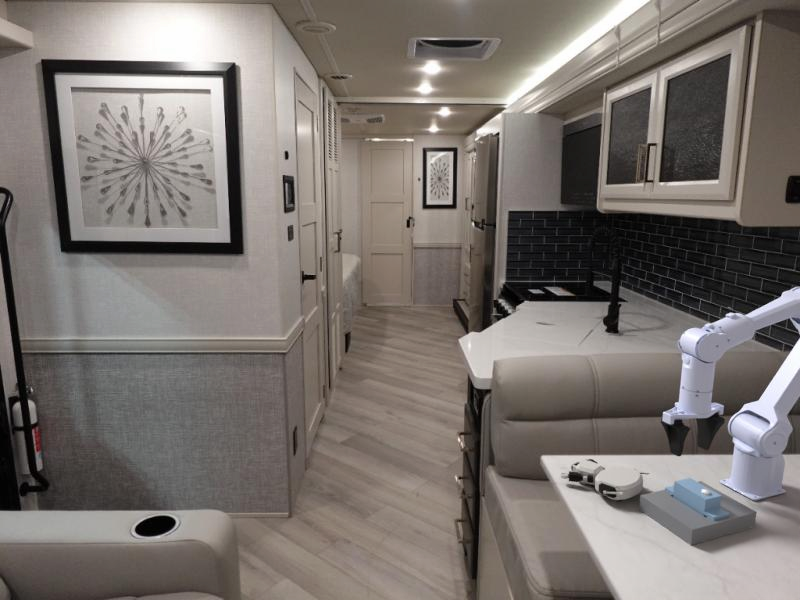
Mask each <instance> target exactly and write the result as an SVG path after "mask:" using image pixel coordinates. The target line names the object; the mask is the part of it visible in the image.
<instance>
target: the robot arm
mask: <svg viewBox="0 0 800 600" xmlns="http://www.w3.org/2000/svg"><path fill="white" fill-rule="evenodd" d="M788 319H789V320H790V321H791V322H792V324H793V326H794V327H795V329H796V330H797V331H798V333H799V335H800V286H795V287H793V288H791V289H789V290H785V291H783V292H782V293H781V296H780V297H778V298H776V299H774V300H772V301H770V302H768V303H767V304H765V305H762V306H761V307H759V308H756V309H755V310H752V311H751V312H749V313H747V314H745V315H744V314H743V313H739V312H735V313H734V312H729V313H726V314H725V317H723V318H721V319H719V320H718V319H717V321H714V322H712V323H710V322H708V323H706V324H704V326H703V327H702V328H699V327H692V328H688V329H687V330H685V331H684V332H683V333H682V334H681V336H680V339H678V340H677V347H678V350H679V351H680V353H681V360H682V364H681V374H680V375H681V376H680V386H679V396H678V401H677V402H675V403H674V407H673V408H671V409H668V410H666V411H663V412H662V416H661V417H660V418H661V419H660V423H661V424H662V427H663V429H664V431H665V434H666V437H667V442H668V445H669V451H670V452H669V453H671V454H673V455H674V456H676V457H682V456H683V455H682V454H683V451H684V445H685V442H686V438H687V436H688V434H689V432H690V431H691V430H692V428H691V427H690V426H688V425H685V423H684V422H683V421H687V420H691V419H695V421H696V428H697V429H696V430H697V435H696V442H697V443H696V444H697V447H699V448H701V449H702V450H705V451H708V450H710V449H711V448H710V447H711V446H712V444H713V443H712V442H713V440H714V438H715V436H716V434H717V433H718V431H719V430H720V429H721V427H723V426H724V424H725V422H726V419H725V418H724V417H722V416H721V415H724V408H725V406H724V405H723V404H721V403H718V402H712V397H713V389H714V380H715V372H716V364H717V363H716V362H718V361H719V360H720V359H721V358H722V357H723V356H724V354H725V352H727V351H729V349H731V348H733V347H736V346H738V345H741V344H743V343H745V342H747V341H749V340H751V339H753V338H754V336H755V334H756V331H758V330H760V329H763V328H766V327H770V326H771V325H774V324H777V323H779V322H782V321H785V320H788ZM799 398H800V338H799V339H798V340H797V341H796V343H795V344H794V346H793V348H792V349H791V350H790V353H788V355H787V357H786V359H784V361H783V363H782V364H781V365H780V367H779V369H778V370H777V372H776V374H775V375H774V376H773V378H772V380H770V382H769V384H768V386H767V387H766V389H765V390H764V392H763V393H762V395H761V396H760V398H759V399H758V400H756V401H751V402H748V403H744V405H743V406H742V408H741V409H740V410H739V411H738V412H736V413H735V414H733V415H732V416H731V417H730V419H729V421H728V424H727V431H728V434H729V435H730V436H731V437H732V443H733V444H734V447H733V455H732V462H731V472H730V477H729V478H728V477H727V478H724V479H720V481H719V483H720V484H722V485H724V486H725V487H728V488H730V489H731V490H733V491H735V492H737V493H739V494H740V495H742V496H744V497H746V498H748V499H750V500H752V501H755V502H756V501H758V500H763V499H766V498H770V497H774V496H779V495H781V494H786V490H785V489H784V488H783V487H782V486H783V481H784V480H783V479H784V472H785V464H786V461H785V458H784V456H783V454H782V453H783V452H784V451H785V449H787V446H788V441H789V437H790V436H791V434H792V432H793V430H794V429H793V426H792V424H791V422H790V420H789V418H788V414H789V413H790V411H791V410H792V408H793V407H794V406H795V404H796V403H797V401H798V400H799ZM767 421H768V422H767Z"/></svg>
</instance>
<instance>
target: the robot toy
mask: <svg viewBox="0 0 800 600" xmlns="http://www.w3.org/2000/svg"><path fill="white" fill-rule="evenodd" d="M570 468H571V470H570V471H569V470H568V472H561V473H560V478H561V479H564V480H566V479H568V482H573V483H580V484H583V485H591V486H594V488H595V490H596V492H598V494H599V495H601V496H605V497H607V498H608V499H610V500H612V501H620V500H621V501H622V500H623V501H624V500H627V499H631V498H633V497H635V496H637V495H639V494H640V493H641V491H642V490H643V488H644V477H643V475H649V474H650V472H648V471H646V472H645V471H644V472H642V471H640V472H639V470H638V469H636V470H634V469H633V468H630V467H626V466H623V465H612V466H609V467H606V468H605V467H603V466H602V465H601V464H599V463H598V462H597V461H596V460H594V459H592V458H585V459H582V461H576V462H575V463H573V464H571V466H570Z"/></svg>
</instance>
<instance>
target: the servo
mask: <svg viewBox="0 0 800 600" xmlns="http://www.w3.org/2000/svg"><path fill="white" fill-rule="evenodd" d="M698 482H699V481H696V480H694V479H693V478H691V477H687V478H683V479H678V480H675V481H674V483H673V485H671V486H670V485H669V486H666V487H664V490H665V491H667V492H668V493H670V494H672V495H673V497H674V498H675V499H677V500H678V501H680V502H682V503H683V504H685V505H686V506H688V507H690V508H691V509H693V510H694V511H696V512H698V513H699V514H701V515H703V516H704V517H709V518H710V519H712V520H717V519H721V518H725V517H729V516H730V513H729V512H727V511H725V510H724V509H722V508H720V505H721V497H722V496H721V495H719V494H718V493H716V492H714V491H712V490H711V489H709V488H707V487H705V486H704V485H702V484H700V483H698Z"/></svg>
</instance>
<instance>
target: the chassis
mask: <svg viewBox="0 0 800 600" xmlns="http://www.w3.org/2000/svg"><path fill="white" fill-rule="evenodd" d="M697 482H698V483H700V484H702V485H704V486H705V487H707V488H709V489H711V490H712V491H714V492H716V493H718V494H719V495H721V496H722V497H721V505H720V508H722V509H724V510H725V511H727V512H729V513H730V516H729V517H725V518H721V519H717V520H712V519H710V518H709V517H704V516H703V515H701V514H699V513H698V512H696V511H694V510H693V509H691V508H690V507H688V506H686V505H685V504H683V503H682V502H680V501H678V500H677V499H675V498H674V497H673V495H672V494H670V493H668V492H667V491H665V489H661V490H657V491H654V492H649V493H645V494H640V496H639V505H638V506H639V507H638V509H639V511H641V512H642V513H644V514H645V515H647V516H648V517H650V518H651V519H652V520H654V521H655V522H657V523H659V525H660V526H661V525H662V527H664V528H666V529H667V530H668V531H669V532H671V533H672V534H674V535H675V536H677V537H678V538H680V539H681V540H683V541H684V542H685V543H687V544H688V545H690V546H693V545H696V544H700V543H703V542H706V541H709V540H713V539H717V538H720V537H724V536H727V535H730V534H733V533H738V532H741V531H745V530H748V529H751V528H755V526H756V521H757V513H758V512H757V511H755V509H752V508H750V507H748V506H747V505H745V504H743V503H742V502H739V501H738V500H736V499H734V498H732V497H730V496H729V495H727V494H725V493H723V492H721V491H719V490H718V489H717V488H714V487H713V486H710V485H709V484H707V483H706V482H704V481H702V480H700V481H697Z"/></svg>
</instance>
